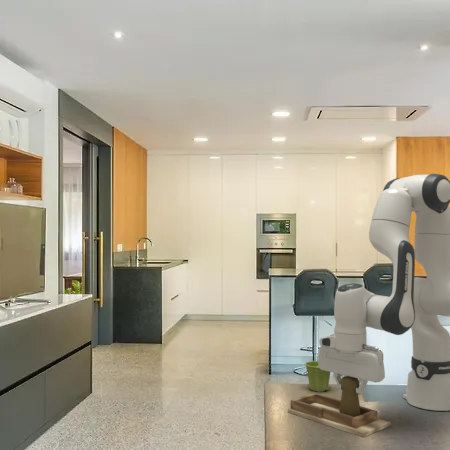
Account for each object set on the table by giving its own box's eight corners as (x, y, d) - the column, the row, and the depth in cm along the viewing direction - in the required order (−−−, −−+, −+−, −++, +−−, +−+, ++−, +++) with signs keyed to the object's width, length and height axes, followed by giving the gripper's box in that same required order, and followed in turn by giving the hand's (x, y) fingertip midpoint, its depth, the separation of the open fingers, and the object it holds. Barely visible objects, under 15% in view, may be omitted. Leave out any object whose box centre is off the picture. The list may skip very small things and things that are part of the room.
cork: (361, 420, 149) (361, 380, 149) (339, 419, 150) (339, 378, 150) (360, 413, 155) (360, 374, 155) (338, 412, 156) (338, 373, 156)
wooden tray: (315, 403, 169) (315, 392, 169) (390, 425, 150) (390, 412, 150) (287, 412, 160) (288, 400, 161) (363, 437, 141) (363, 423, 141)
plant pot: (304, 385, 190) (304, 360, 190) (332, 386, 189) (332, 361, 189) (304, 392, 181) (304, 366, 181) (333, 394, 179) (333, 367, 179)
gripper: (389, 346, 147) (389, 397, 147) (328, 335, 162) (328, 382, 162) (376, 349, 143) (376, 402, 143) (314, 338, 158) (314, 386, 158)
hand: (350, 391), depth 152 cm, fingers closed on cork, 5 cm apart
